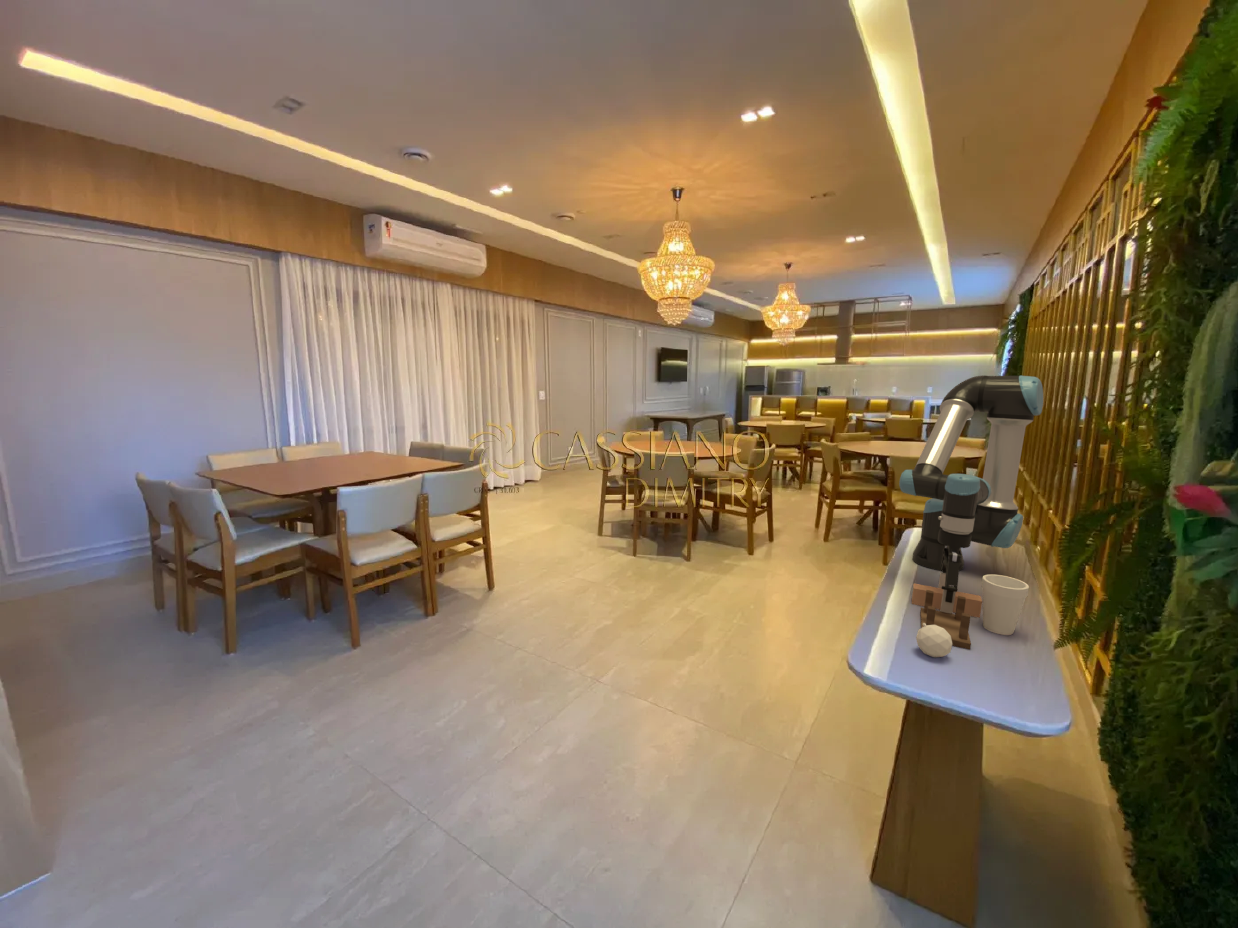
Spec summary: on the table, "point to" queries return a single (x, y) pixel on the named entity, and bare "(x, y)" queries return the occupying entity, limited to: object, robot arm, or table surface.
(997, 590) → the foam cup
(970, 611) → the clay bar
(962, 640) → the rack
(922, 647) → the cream rounded egg shape
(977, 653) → the table surface
